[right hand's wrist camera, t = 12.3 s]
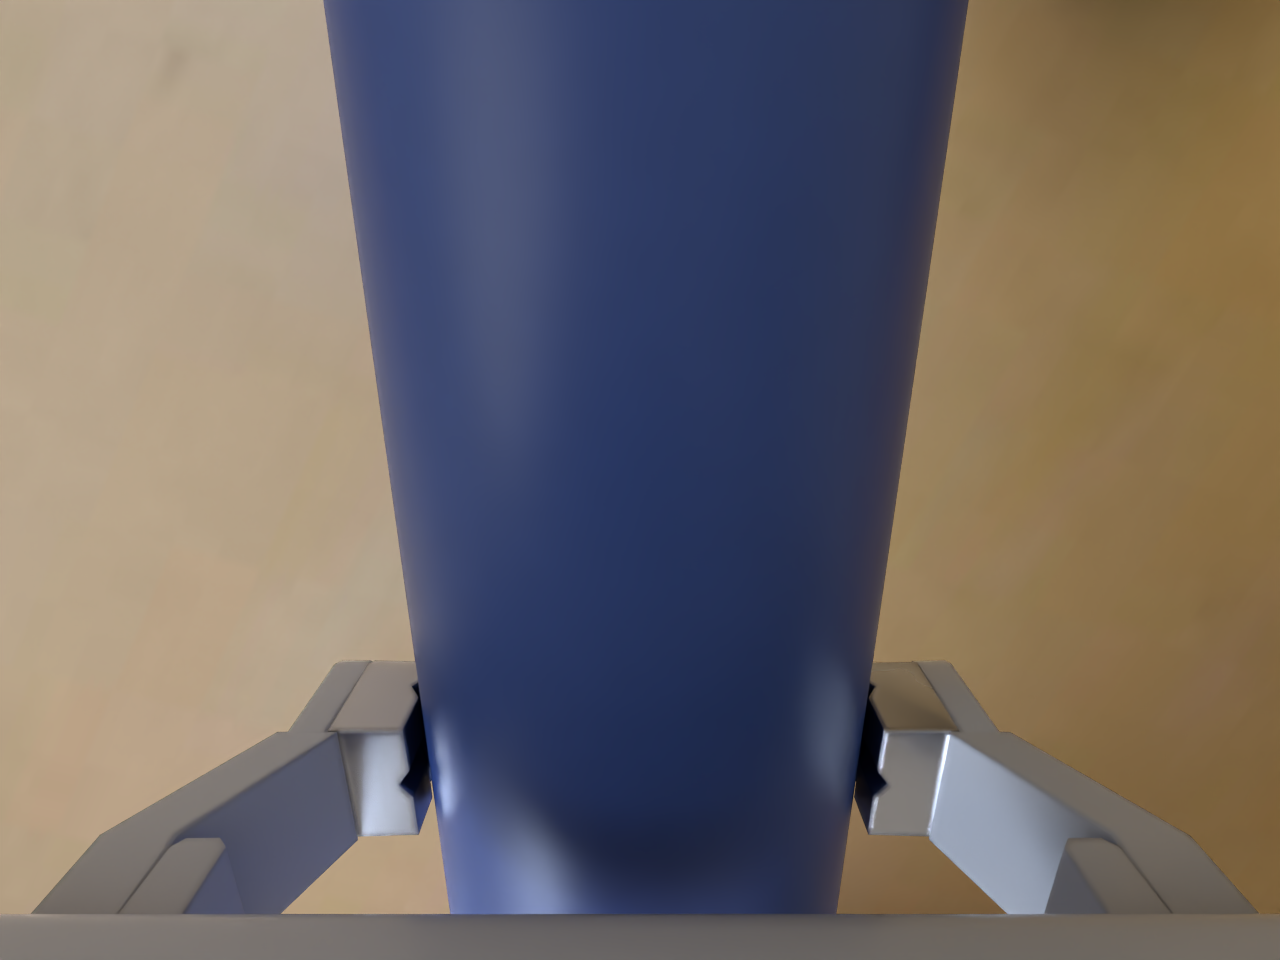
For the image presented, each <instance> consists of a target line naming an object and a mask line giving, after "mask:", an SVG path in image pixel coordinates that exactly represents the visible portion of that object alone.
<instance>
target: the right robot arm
mask: <svg viewBox="0 0 1280 960" xmlns="http://www.w3.org/2000/svg"><path fill="white" fill-rule="evenodd" d="M431 780H432V778H431V770H430V763H429V756H428V749H427V742H426V734H425V727H424V720H423V713H422V706H421V698H420V691H419V684H418V677H417V670H416V662H415V661H340V662H338V663H336V664H335V665H334V666H333V667H332V668H331V670H330V671H329V673H328V674H327V676H326V677H325V679H324V680H323V681H322V683H321V684H320V686H319V687H318V689H317V690H316V692H315V693H314V695H313V696H312V697H311V699H310V700H309V702H308V703H307V705H306V706H305V708H304V709H303V711H302V712H301V713H300V715H299V716H298V718H297V719H296V721H295V722H294V724H293V725H292V726H291V728H290V729H289V731H288V732H277V733H275V734H273V735H271V736H270V737H268V738H266V739H265V740H263V741H261V742H259V743H258V744H256V745H254V746H252V747H251V748H249V749H247V750H246V751H244V752H242V753H240V754H239V755H237V756H235V757H234V758H232V759H230V760H228V761H227V762H225V763H223V764H221V765H220V766H218V767H216V768H215V769H213V770H211V771H209V772H208V773H206V774H204V775H202V776H201V777H199V778H197V779H196V780H194V781H192V782H190V783H189V784H187V785H185V786H183V787H182V788H180V789H178V790H177V791H175V792H173V793H171V794H170V795H168V796H166V797H165V798H163V799H161V800H159V801H158V802H156V803H154V804H152V805H151V806H149V807H147V808H146V809H144V810H142V811H140V812H139V813H137V814H135V815H133V816H132V817H130V818H128V819H127V820H125V821H123V822H121V823H120V824H118V825H116V826H114V827H113V828H111V829H109V830H108V831H106V832H104V833H102V834H101V835H100V836H99V837H98V838H97V839H96V840H95V841H94V842H93V844H92V845H91V846H90V847H89V848H88V849H87V850H86V852H85V853H84V854H83V855H82V856H81V857H80V858H79V860H78V861H77V862H76V863H75V864H74V865H73V866H72V867H71V869H70V870H69V871H68V872H67V873H66V874H65V875H64V877H63V878H62V879H61V880H60V881H59V882H58V883H57V885H56V886H55V887H54V888H53V889H52V890H51V891H50V893H49V894H48V895H47V896H46V897H45V898H44V899H43V901H42V902H41V903H40V904H39V905H38V906H37V907H36V909H35V910H34V911H33V912H32V913H31V914H0V960H1280V914H1259V913H1258V912H1257V911H1256V909H1255V908H1254V907H1253V906H1252V905H1251V904H1250V903H1249V902H1248V900H1247V899H1246V898H1245V897H1244V896H1243V895H1242V894H1241V893H1240V891H1239V890H1238V889H1237V888H1236V887H1235V886H1234V885H1233V883H1232V882H1231V881H1230V880H1229V879H1228V878H1227V877H1226V876H1225V874H1224V873H1223V872H1222V871H1221V870H1220V869H1219V868H1218V867H1217V865H1216V864H1215V863H1214V862H1213V861H1212V860H1211V859H1210V858H1209V856H1208V855H1207V854H1206V853H1205V852H1204V851H1203V850H1202V849H1201V847H1200V846H1199V845H1198V844H1197V843H1196V842H1195V841H1194V839H1193V838H1192V837H1191V836H1190V835H1188V834H1186V833H1184V832H1183V831H1181V830H1179V829H1177V828H1176V827H1174V826H1172V825H1170V824H1169V823H1167V822H1165V821H1164V820H1162V819H1160V818H1158V817H1157V816H1155V815H1153V814H1151V813H1150V812H1148V811H1146V810H1144V809H1143V808H1141V807H1139V806H1137V805H1136V804H1134V803H1132V802H1131V801H1129V800H1127V799H1125V798H1124V797H1122V796H1120V795H1118V794H1117V793H1115V792H1113V791H1111V790H1110V789H1108V788H1106V787H1105V786H1103V785H1101V784H1099V783H1098V782H1096V781H1094V780H1092V779H1091V778H1089V777H1087V776H1085V775H1084V774H1082V773H1080V772H1078V771H1077V770H1075V769H1073V768H1072V767H1070V766H1068V765H1066V764H1065V763H1063V762H1061V761H1059V760H1058V759H1056V758H1054V757H1052V756H1051V755H1049V754H1047V753H1045V752H1044V751H1042V750H1040V749H1039V748H1037V747H1035V746H1033V745H1032V744H1030V743H1028V742H1026V741H1025V740H1023V739H1021V738H1019V737H1018V736H1016V735H1014V734H1013V733H1011V732H999V730H998V729H997V728H996V726H995V725H994V723H993V722H992V721H991V719H990V718H989V716H988V715H987V713H986V712H985V711H984V709H983V708H982V706H981V705H980V704H979V702H978V701H977V699H976V698H975V697H974V695H973V694H972V692H971V691H970V690H969V688H968V687H967V685H966V684H965V682H964V681H963V680H962V678H961V677H960V675H959V674H958V673H957V671H956V670H955V668H954V667H953V666H952V664H951V663H949V662H947V661H946V660H931V661H912V662H873V663H872V670H871V677H870V684H869V691H868V698H867V705H866V711H865V718H864V725H863V732H862V739H861V746H860V753H859V760H858V767H857V774H856V780H855V781H856V787H855V795H854V798H855V800H856V803H857V806H858V808H859V811H860V814H861V816H862V819H863V821H864V824H865V827H866V829H867V832H868V835H900V836H929V840H930V841H931V842H932V843H933V844H934V845H935V846H937V847H938V848H939V849H940V850H941V851H942V852H943V853H944V854H945V855H946V856H947V857H948V858H949V859H950V860H951V861H952V862H953V863H954V864H956V865H957V866H958V867H959V868H960V869H961V870H962V871H963V872H964V873H965V874H966V875H967V876H968V877H969V878H970V879H971V880H972V881H973V882H975V883H976V884H977V885H978V886H979V887H980V888H981V889H982V890H983V891H984V892H985V893H986V894H987V895H988V896H989V897H990V898H991V899H992V900H993V901H995V902H996V903H997V904H998V905H999V906H1000V907H1001V908H1002V909H1003V910H1004V911H1005V912H1006V913H1007V914H281V913H282V912H283V911H284V910H285V909H286V908H287V907H288V906H289V905H290V904H291V903H292V902H293V901H294V900H295V899H296V898H297V897H298V896H299V895H301V894H302V893H303V892H304V891H305V890H306V889H307V888H308V887H309V886H310V885H311V884H312V883H313V882H314V881H315V880H316V879H317V878H318V877H319V876H320V875H321V874H323V873H324V872H325V871H326V870H327V869H328V868H329V867H330V866H331V865H332V864H333V863H334V862H335V861H336V860H337V859H338V858H339V857H340V856H341V855H342V854H343V853H345V852H346V851H347V850H348V849H349V848H350V847H351V846H352V845H353V844H354V843H355V842H356V841H357V840H358V838H357V836H386V835H419V832H420V829H421V826H422V824H423V821H424V818H425V815H426V813H427V810H428V807H429V804H430V802H431V799H432V791H431V783H430V781H431Z"/></svg>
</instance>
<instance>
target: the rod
mask: <svg viewBox="0 0 1280 960" xmlns="http://www.w3.org/2000/svg"><path fill="white" fill-rule="evenodd" d="M968 1H969V0H324V8H325V15H326V22H327V29H328V36H329V44H330V51H331V58H332V65H333V72H334V80H335V87H336V94H337V101H338V108H339V116H340V123H341V130H342V137H343V144H344V152H345V159H346V166H347V173H348V180H349V187H350V195H351V202H352V209H353V216H354V223H355V231H356V238H357V245H358V252H359V259H360V267H361V274H362V281H363V288H364V295H365V303H366V310H367V317H368V324H369V331H370V339H371V346H372V353H373V360H374V367H375V375H376V382H377V389H378V396H379V403H380V411H381V418H382V425H383V432H384V439H385V447H386V454H387V461H388V468H389V475H390V483H391V490H392V497H393V504H394V511H395V518H396V526H397V533H398V540H399V547H400V554H401V562H402V569H403V576H404V583H405V590H406V598H407V605H408V612H409V619H410V626H411V634H412V641H413V648H414V655H415V662H416V670H417V677H418V684H419V691H420V698H421V706H422V713H423V720H424V727H425V734H426V742H427V749H428V756H429V763H430V770H431V778H432V785H433V792H434V799H435V806H436V813H437V821H438V828H439V835H440V842H441V849H442V857H443V864H444V871H445V878H446V885H447V893H448V900H449V907H450V914H836V912H837V905H838V898H839V891H840V884H841V877H842V870H843V863H844V856H845V849H846V843H847V836H848V829H849V822H850V815H851V808H852V801H853V794H854V787H855V780H856V774H857V767H858V760H859V753H860V746H861V739H862V732H863V725H864V718H865V711H866V705H867V698H868V691H869V684H870V677H871V670H872V663H873V656H874V649H875V642H876V636H877V629H878V622H879V615H880V608H881V601H882V594H883V587H884V580H885V573H886V567H887V560H888V553H889V546H890V539H891V532H892V525H893V518H894V511H895V504H896V497H897V491H898V484H899V477H900V470H901V463H902V456H903V449H904V442H905V435H906V428H907V422H908V415H909V408H910V401H911V394H912V387H913V380H914V373H915V366H916V359H917V353H918V346H919V339H920V332H921V325H922V318H923V311H924V304H925V297H926V290H927V284H928V277H929V270H930V263H931V256H932V249H933V242H934V235H935V228H936V221H937V215H938V208H939V201H940V194H941V187H942V180H943V173H944V166H945V159H946V152H947V145H948V139H949V132H950V125H951V118H952V111H953V104H954V97H955V90H956V83H957V76H958V70H959V63H960V56H961V49H962V42H963V35H964V28H965V21H966V14H967V7H968Z"/></svg>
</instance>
